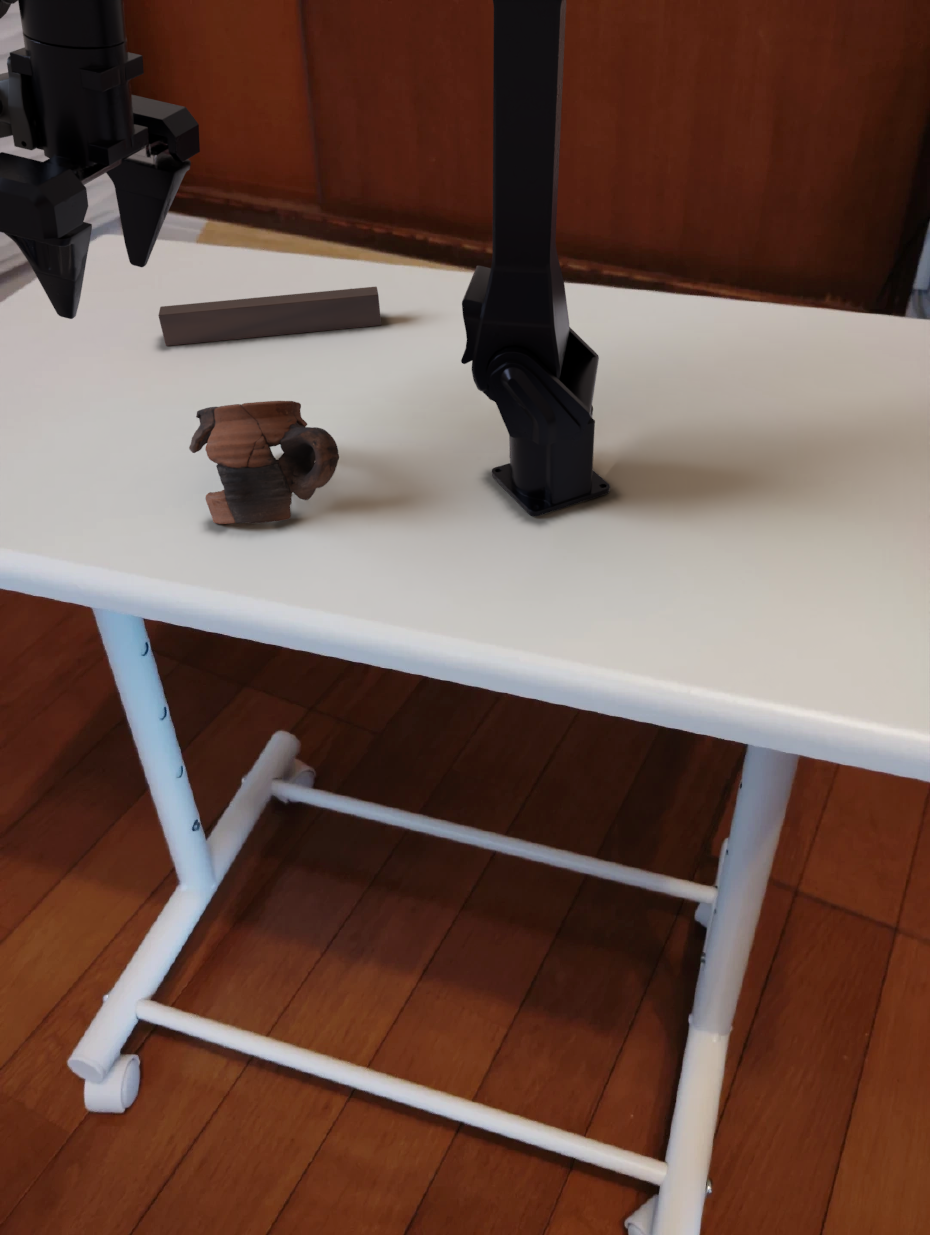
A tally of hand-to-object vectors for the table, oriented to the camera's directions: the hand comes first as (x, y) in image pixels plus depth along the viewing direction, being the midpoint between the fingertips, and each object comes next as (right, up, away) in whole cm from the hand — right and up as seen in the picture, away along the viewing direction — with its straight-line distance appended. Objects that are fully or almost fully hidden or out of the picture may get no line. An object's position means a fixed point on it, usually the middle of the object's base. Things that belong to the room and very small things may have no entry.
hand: (104, 290), depth 69 cm
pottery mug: (+11, -14, +5) cm, 18 cm away
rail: (+7, +4, +26) cm, 27 cm away
